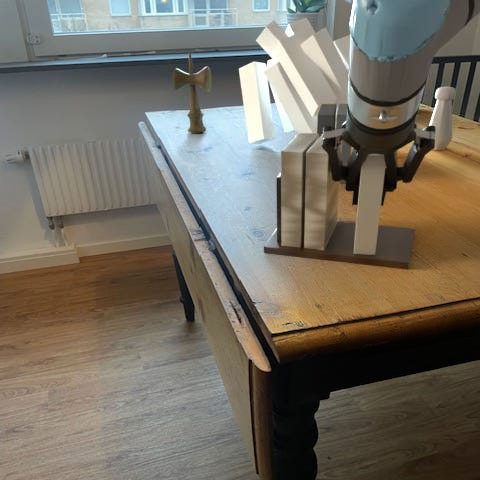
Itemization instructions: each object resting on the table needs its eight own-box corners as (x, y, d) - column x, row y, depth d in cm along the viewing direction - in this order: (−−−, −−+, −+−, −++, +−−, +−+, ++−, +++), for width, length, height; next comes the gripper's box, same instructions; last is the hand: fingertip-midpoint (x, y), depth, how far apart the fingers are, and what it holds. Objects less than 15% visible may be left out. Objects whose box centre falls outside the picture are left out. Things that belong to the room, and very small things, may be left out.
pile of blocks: (387, 148, 137) (353, 16, 132) (410, 129, 108) (368, -42, 103) (266, 189, 143) (229, 64, 138) (256, 181, 114) (209, 22, 109)
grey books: (349, 168, 108) (354, 103, 100) (348, 183, 100) (353, 114, 92) (319, 167, 109) (321, 103, 102) (315, 183, 101) (317, 114, 94)
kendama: (211, 135, 138) (205, 53, 127) (177, 135, 140) (168, 54, 129) (216, 129, 143) (210, 50, 132) (183, 129, 144) (175, 51, 133)
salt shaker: (453, 146, 117) (464, 85, 110) (446, 152, 113) (457, 90, 106) (427, 143, 120) (436, 84, 113) (420, 149, 116) (429, 89, 109)
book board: (414, 234, 79) (429, 135, 70) (407, 269, 69) (424, 160, 61) (285, 222, 85) (285, 130, 77) (263, 252, 76) (260, 152, 68)
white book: (374, 226, 79) (384, 135, 71) (375, 255, 71) (386, 155, 63) (355, 226, 80) (363, 135, 72) (353, 254, 72) (362, 155, 64)
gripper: (303, 132, 54) (312, 218, 76) (463, 133, 51) (422, 222, 73) (310, 70, 55) (316, 173, 78) (465, 67, 52) (425, 175, 75)
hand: (368, 197), depth 76 cm, fingers open, 3 cm apart
